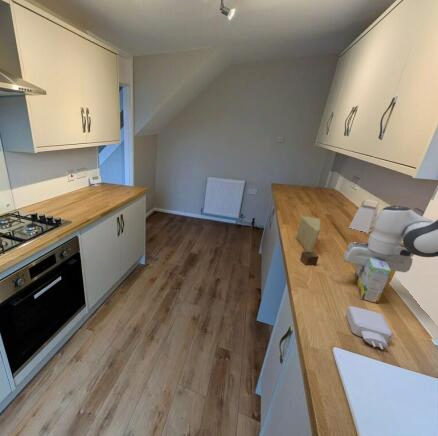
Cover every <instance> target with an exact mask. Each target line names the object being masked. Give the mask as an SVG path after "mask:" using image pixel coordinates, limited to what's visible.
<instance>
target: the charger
mask: <svg viewBox="0 0 438 436" xmlns="http://www.w3.org/2000/svg"><path fill="white" fill-rule="evenodd" d="M345 316H346V319H347V322H348V325H349V328H350V330H351V333H352V334H354V335H356V336H357V337H360V338H363V340H364V341H365V342H366V343H368V344H369V345H371V346H373V347H374V348H375V347H378V348H380V350H384V348H389V345H388V344H390V342H391V340H392V338H393V336H394V334H393V331H392V330H391V328H390V327H389V325H388V323H387V321H386V319H385V316H384V315H383V314H382V313H379V312H375V311H372V310H368V309H364V308H361V307H357V306H351V305H350V306H348V307H347V310H346V313H345Z"/></svg>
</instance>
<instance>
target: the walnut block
mask: <svg viewBox="0 0 438 436" xmlns="http://www.w3.org/2000/svg"><path fill="white" fill-rule="evenodd" d="M300 260H301V261H302V262H303V263H302V262H301V261H300ZM299 261H300V262H301V263H302V264H304V265H305V266H307V265H313V266H312V267H315V266H317V264H318V261H319V256H318V255H317V254H316V253H315V252H314V251H313V252H306V251H302V252H301V256H300V259H299Z"/></svg>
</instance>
